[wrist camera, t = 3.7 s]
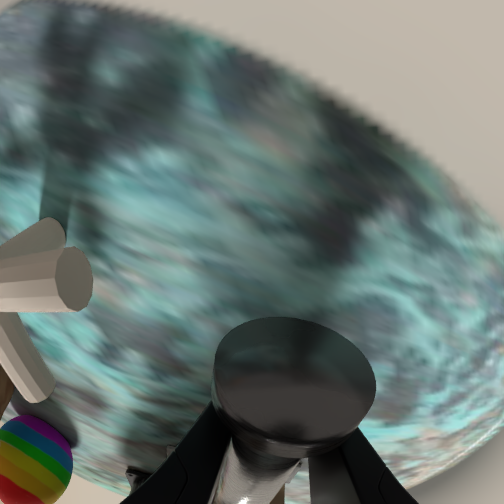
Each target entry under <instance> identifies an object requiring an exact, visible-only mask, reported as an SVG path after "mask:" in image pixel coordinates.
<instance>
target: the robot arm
mask: <svg viewBox="0 0 504 504" xmlns="http://www.w3.org/2000/svg"><path fill="white" fill-rule="evenodd" d="M231 438H232V433H231V432H230V431H229V430H228V429H227V427H226V426H225V425H224V424H223V423H222V421H221V420H220V418H219V416H218V415H217V413H216V410H215V408H214V406H213V402H212V400H211V402H210V403H209V404H208V406H207V407H206V408H205V410H204V411H203V412H202V414H201V415H200V416H199V418H198V419H197V420H196V422H195V423H194V424H193V426H192V427H191V428H190V430H189V431H188V432H187V433H186V435H185V436H184V437H183V439H182V440H181V441H180V443H179V444H178V445H177V446H176V448H175V449H174V451H172V453H171V454H170V455H169V456H168V458H167V459H166V460H165V461H164V462H163V464H162V465H161V466H160V467H159V468H158V469H157V470H156V471H155V472H154V473H153V474H152V475H151V476H150V475H146V474H143V473H139V472H136V471H132V470H128V469H127V470H126V473H125V474H126V476H127V479H128V481H129V483H130V486H131V491H130V494H129V496H128V497H127V498H126V499H124V500H123V501H122V502H121V503H120V504H212V500H213V497H214V494H215V491H216V488H217V485H218V482H219V478H220V475H221V472H222V469H223V466H224V462H225V459H226V456H227V453H228V449H229V446H230V442H231ZM308 464H309V480H310V497H311V504H419V503H418V502H417V501H416V500H415V499H414V498H413V497H412V496H411V495H410V494H409V493H408V492H407V491H406V490H405V488H404V487H403V486H402V485H401V484H400V483H399V481H398V480H397V479H396V478H395V476H394V475H393V474H392V472H391V471H390V470H389V468H388V467H386V464H385V463H384V462H383V460H382V459H381V458H380V456H379V455H378V454H377V452H376V451H375V450H374V448H373V447H372V445H371V444H370V443H369V441H368V440H367V439H366V437H365V436H364V435H363V433H362V432H361V430H360V429H359V428H358V427H357V428H356V429H355V431H354V432H353V434H352V435H351V436H350V437H349V438H348V439H347V440H346V441H345V442H344V443H343V444H342V445H340V446H339V447H337V448H335V449H334V450H332V451H329V452H327V453H325V454H322V455H318V456H314V457H308Z"/></svg>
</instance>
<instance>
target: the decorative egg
mask: <svg viewBox="0 0 504 504" xmlns="http://www.w3.org/2000/svg"><path fill="white" fill-rule="evenodd" d="M72 470H73V458H72V452H71V448H70V445H69V443H68V442H67V440H66V439H65V438H64V437H63V436H62V435H61V434H60V433H59V432H58V431H57V430H55V429H54V428H53V427H52V426H50V425H49V424H47V423H45V422H44V421H42V420H40V419H38V418H36V417H34V416H31V415H21V416H18V417H15V418H13V419H11V420H9V421H8V422H6V423H5V424H4V425H3V426H2V427H1V428H0V499H1V501H2V502H3V503H4V504H53V503H55V502H56V501H57V500H58V499H59V498H60V496H61V495H62V494H63V493H64V491H65V490H66V488H67V486H68V484H69V482H70V479H71V475H72Z"/></svg>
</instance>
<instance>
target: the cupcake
mask: <svg viewBox="0 0 504 504" xmlns="http://www.w3.org/2000/svg"><path fill="white" fill-rule="evenodd" d="M13 392H14V383H13V382H12V380H11V379H10V377H9V376H8V374H7V373H6V371H5V370H4V368H3V367H2V365H1V364H0V420H1V418H2V415H3V413H4V411H5V409H6V407H7V406H8V404H9V402H10V400H11V398H12V395H13Z"/></svg>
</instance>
